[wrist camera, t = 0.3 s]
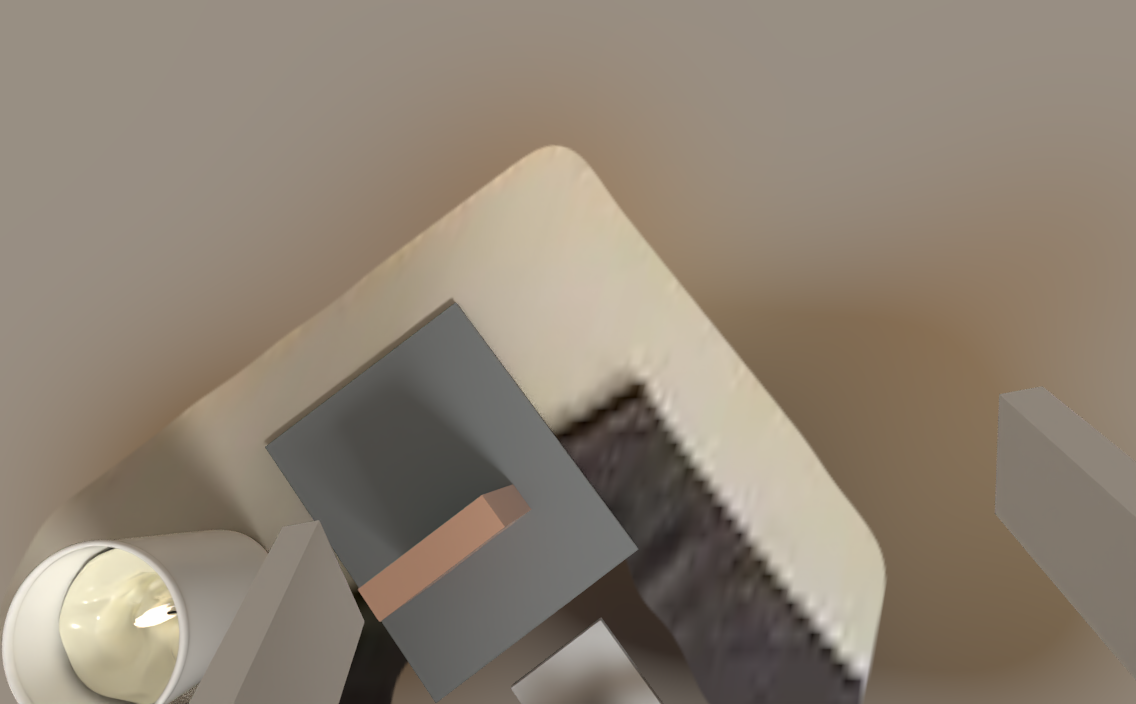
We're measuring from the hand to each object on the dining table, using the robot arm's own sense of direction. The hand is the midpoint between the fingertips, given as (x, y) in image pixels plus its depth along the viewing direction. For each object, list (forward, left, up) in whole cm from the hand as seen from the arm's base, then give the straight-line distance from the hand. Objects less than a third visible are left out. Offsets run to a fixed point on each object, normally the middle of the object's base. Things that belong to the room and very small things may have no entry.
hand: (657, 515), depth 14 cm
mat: (+6, +11, -34) cm, 36 cm away
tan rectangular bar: (+3, +11, -33) cm, 35 cm away
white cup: (+10, +27, -34) cm, 45 cm away
